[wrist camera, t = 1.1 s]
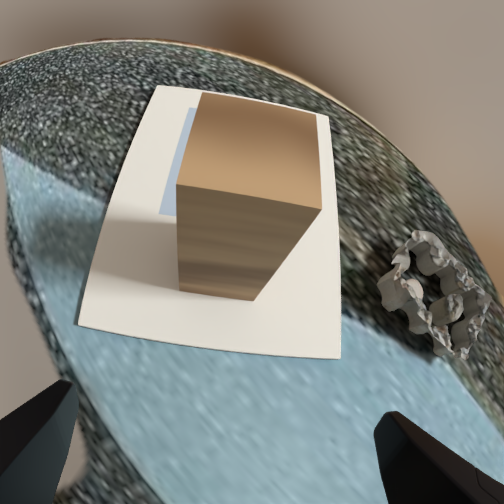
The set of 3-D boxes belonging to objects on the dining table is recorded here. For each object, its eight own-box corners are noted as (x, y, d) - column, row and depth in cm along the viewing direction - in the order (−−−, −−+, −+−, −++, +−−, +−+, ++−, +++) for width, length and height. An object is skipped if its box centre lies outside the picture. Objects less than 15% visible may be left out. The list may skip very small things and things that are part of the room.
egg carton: (363, 293, 25) (391, 275, 21) (401, 236, 28) (426, 215, 24) (443, 371, 23) (475, 364, 19) (470, 309, 26) (498, 296, 22)
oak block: (253, 301, 22) (322, 209, 11) (179, 290, 21) (175, 184, 10) (258, 235, 24) (316, 114, 13) (190, 224, 23) (202, 91, 12)
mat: (337, 359, 22) (340, 358, 21) (80, 326, 19) (77, 324, 19) (326, 119, 32) (328, 116, 31) (157, 88, 29) (157, 85, 29)
